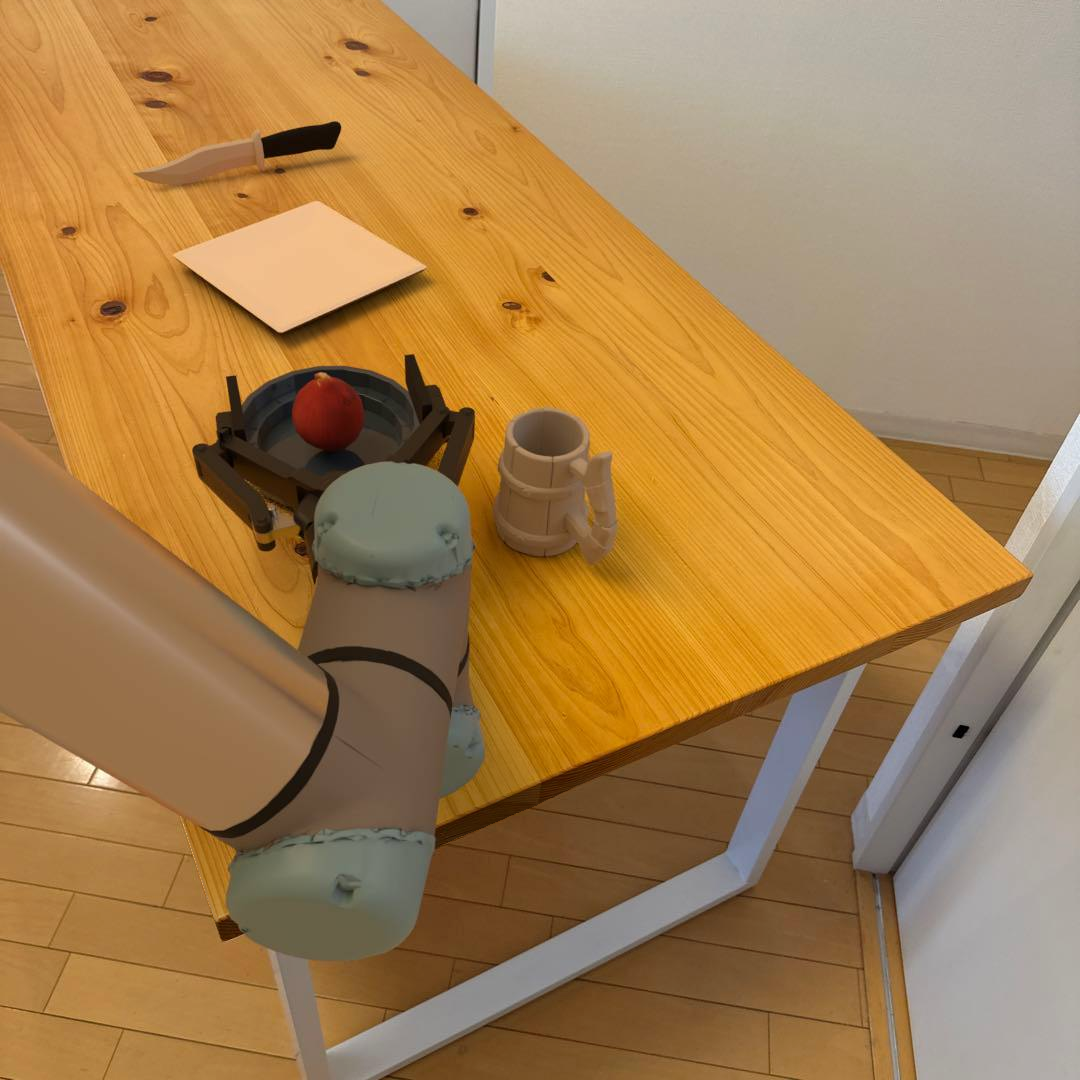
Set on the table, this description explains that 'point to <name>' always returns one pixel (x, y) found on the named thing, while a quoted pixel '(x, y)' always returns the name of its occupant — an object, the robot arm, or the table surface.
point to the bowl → (277, 436)
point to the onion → (328, 413)
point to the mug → (554, 487)
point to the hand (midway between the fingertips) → (323, 378)
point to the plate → (299, 265)
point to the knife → (242, 154)
